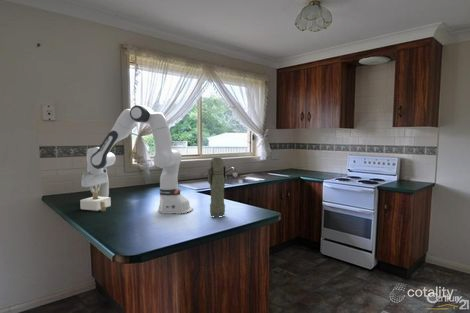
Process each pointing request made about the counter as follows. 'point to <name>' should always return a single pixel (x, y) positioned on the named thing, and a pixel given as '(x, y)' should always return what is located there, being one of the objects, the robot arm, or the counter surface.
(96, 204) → the hole block
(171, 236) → the counter surface
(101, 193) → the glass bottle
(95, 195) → the long pin
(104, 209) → the short pin
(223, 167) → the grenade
